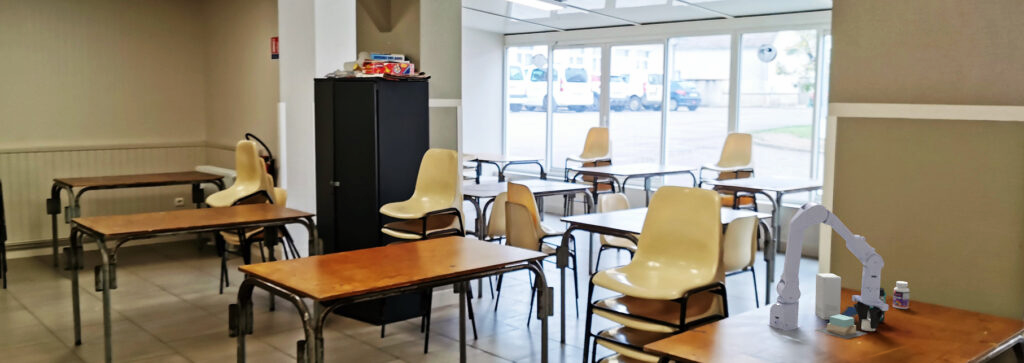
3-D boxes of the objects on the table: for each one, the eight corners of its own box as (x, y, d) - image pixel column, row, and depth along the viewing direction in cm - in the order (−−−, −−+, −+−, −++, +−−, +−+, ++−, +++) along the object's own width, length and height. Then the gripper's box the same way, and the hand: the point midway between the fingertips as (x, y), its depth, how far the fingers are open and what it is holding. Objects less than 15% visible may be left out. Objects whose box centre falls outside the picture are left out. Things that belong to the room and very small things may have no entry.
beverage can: (880, 319, 297) (882, 286, 295) (887, 324, 290) (889, 290, 288) (860, 318, 297) (861, 285, 296) (866, 323, 290) (868, 290, 289)
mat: (846, 340, 269) (846, 339, 269) (814, 331, 279) (814, 330, 279) (867, 334, 276) (867, 333, 276) (835, 326, 286) (835, 325, 286)
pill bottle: (889, 306, 316) (891, 281, 315) (900, 305, 318) (902, 280, 317) (900, 309, 311) (901, 284, 310) (911, 308, 313) (913, 283, 312)
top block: (844, 327, 273) (844, 320, 273) (829, 323, 278) (829, 316, 277) (853, 325, 276) (854, 318, 276) (839, 321, 281) (839, 314, 281)
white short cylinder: (870, 333, 278) (871, 323, 278) (858, 330, 282) (859, 320, 281) (877, 331, 281) (878, 321, 280) (865, 328, 284) (866, 318, 284)
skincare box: (840, 320, 293) (842, 277, 292) (821, 320, 293) (823, 277, 292) (831, 314, 302) (833, 272, 300) (813, 314, 302) (815, 272, 300)
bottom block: (844, 335, 273) (844, 328, 272) (826, 331, 278) (827, 323, 278) (855, 332, 276) (856, 325, 276) (838, 328, 282) (838, 321, 281)
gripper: (896, 291, 274) (894, 331, 276) (864, 281, 288) (862, 320, 289) (879, 292, 272) (877, 332, 273) (848, 283, 285) (845, 321, 287)
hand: (868, 326), depth 281 cm, fingers closed on white short cylinder, 4 cm apart
